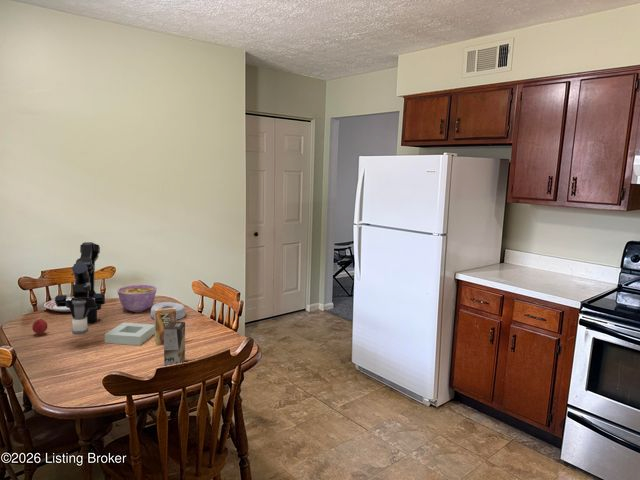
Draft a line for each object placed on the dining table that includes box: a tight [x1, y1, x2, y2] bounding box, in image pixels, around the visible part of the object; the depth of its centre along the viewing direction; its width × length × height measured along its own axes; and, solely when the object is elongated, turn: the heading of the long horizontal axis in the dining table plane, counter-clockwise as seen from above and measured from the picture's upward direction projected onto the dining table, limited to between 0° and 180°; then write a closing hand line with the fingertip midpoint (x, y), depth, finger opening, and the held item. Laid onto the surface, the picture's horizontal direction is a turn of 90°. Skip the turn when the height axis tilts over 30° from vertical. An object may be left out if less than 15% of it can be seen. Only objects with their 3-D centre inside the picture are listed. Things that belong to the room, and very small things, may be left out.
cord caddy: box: [104, 322, 155, 346], centre depth 202 cm, size 16×16×4 cm
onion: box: [31, 317, 48, 336], centre depth 201 cm, size 6×6×8 cm
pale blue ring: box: [150, 301, 186, 321], centre depth 234 cm, size 18×18×6 cm
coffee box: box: [163, 321, 186, 367], centre depth 176 cm, size 9×6×16 cm
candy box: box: [154, 307, 177, 345], centre depth 198 cm, size 9×4×15 cm, turn 116°
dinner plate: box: [43, 296, 74, 313], centre depth 242 cm, size 27×27×3 cm
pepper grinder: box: [71, 299, 89, 335], centre depth 189 cm, size 6×6×14 cm
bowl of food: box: [117, 284, 158, 313], centre depth 242 cm, size 20×20×12 cm
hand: (79, 317), depth 187 cm, fingers closed on pepper grinder, 4 cm apart
